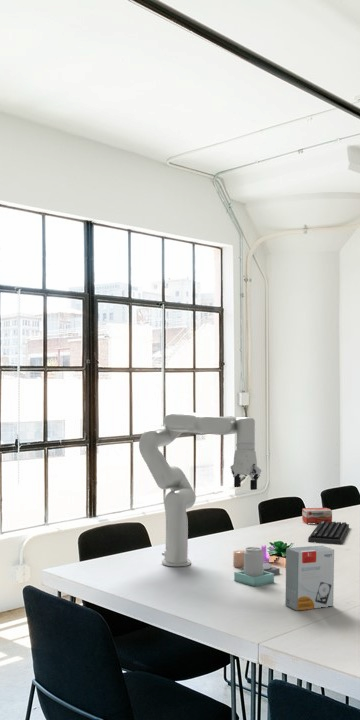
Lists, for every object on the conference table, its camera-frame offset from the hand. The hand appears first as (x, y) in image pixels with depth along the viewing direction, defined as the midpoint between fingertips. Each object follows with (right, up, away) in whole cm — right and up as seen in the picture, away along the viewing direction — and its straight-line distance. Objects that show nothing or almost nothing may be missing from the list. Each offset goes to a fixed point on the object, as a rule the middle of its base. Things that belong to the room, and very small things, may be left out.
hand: (245, 488), depth 299 cm
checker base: (+6, -34, -3) cm, 35 cm away
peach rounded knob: (-1, -35, +8) cm, 36 cm away
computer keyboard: (+51, -39, +78) cm, 101 cm away
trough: (+2, -34, -16) cm, 37 cm away
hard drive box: (+18, -33, -48) cm, 61 cm away
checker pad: (+6, -32, -3) cm, 33 cm away
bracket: (+13, -36, +22) cm, 44 cm away
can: (+2, -33, -16) cm, 37 cm away
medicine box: (+51, -40, +112) cm, 129 cm away
